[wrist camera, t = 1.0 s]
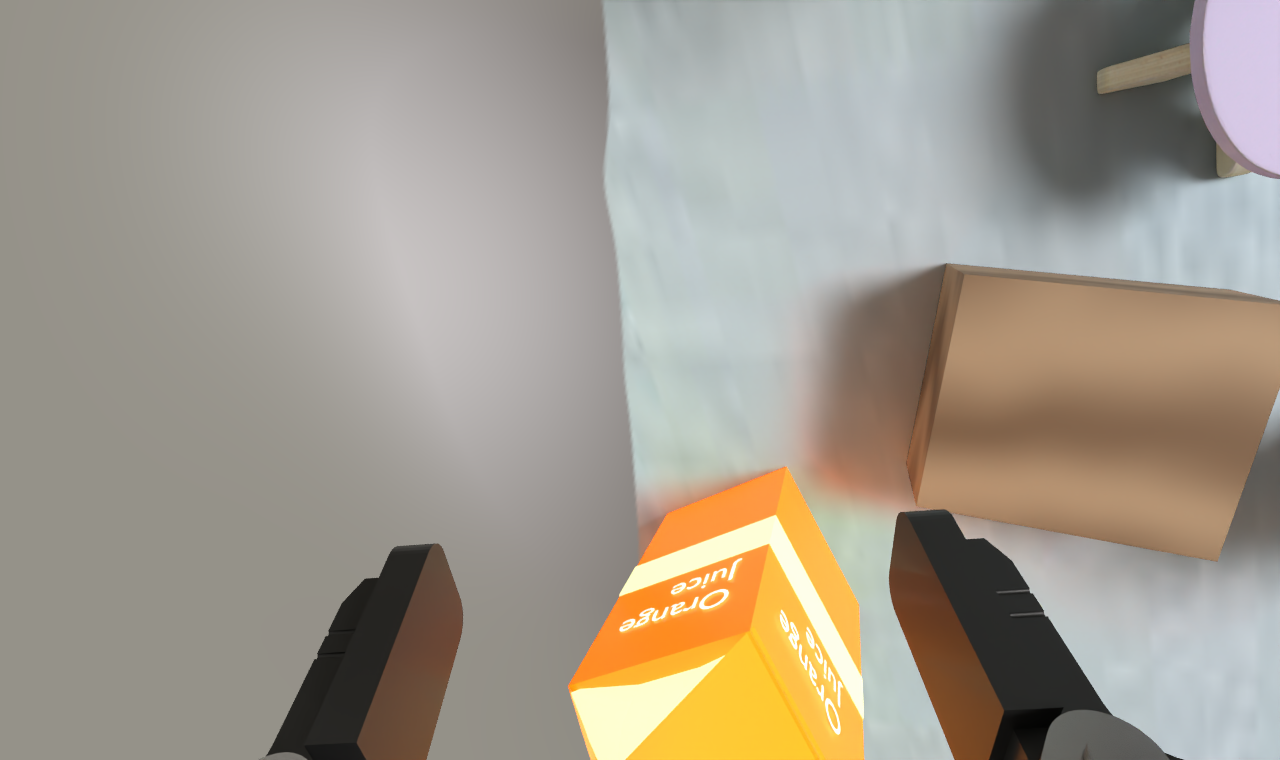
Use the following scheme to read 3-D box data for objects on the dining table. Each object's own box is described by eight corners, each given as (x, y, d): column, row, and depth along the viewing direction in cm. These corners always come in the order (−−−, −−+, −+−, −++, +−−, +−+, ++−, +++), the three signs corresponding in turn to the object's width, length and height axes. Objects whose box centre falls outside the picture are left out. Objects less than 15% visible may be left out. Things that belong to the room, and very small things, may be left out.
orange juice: (788, 464, 35) (723, 759, 16) (862, 605, 36) (879, 1038, 17) (663, 514, 38) (488, 811, 19) (734, 643, 39) (631, 1048, 20)
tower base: (946, 263, 30) (964, 274, 26) (1230, 289, 27) (1308, 307, 23) (906, 463, 33) (916, 506, 28) (1160, 506, 30) (1217, 561, 26)
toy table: (1122, -82, 26) (1195, -156, 20) (1419, -108, 23) (1591, -200, 18) (1074, 181, 28) (1127, 177, 23) (1336, 184, 26) (1464, 179, 20)
